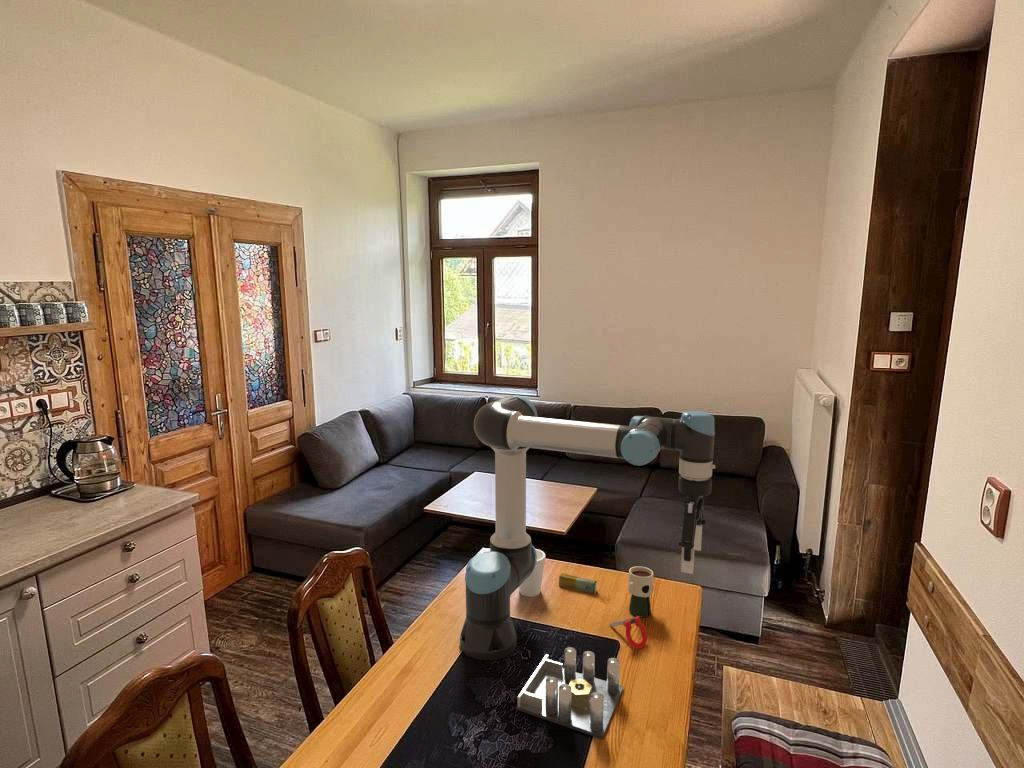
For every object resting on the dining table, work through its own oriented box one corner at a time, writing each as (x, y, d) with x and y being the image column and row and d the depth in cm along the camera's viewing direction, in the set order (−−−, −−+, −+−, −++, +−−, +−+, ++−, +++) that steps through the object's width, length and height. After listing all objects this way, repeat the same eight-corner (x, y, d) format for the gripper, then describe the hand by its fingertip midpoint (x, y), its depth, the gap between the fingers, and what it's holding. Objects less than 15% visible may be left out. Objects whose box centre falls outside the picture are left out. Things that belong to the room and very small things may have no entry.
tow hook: (633, 651, 146) (623, 622, 148) (609, 653, 154) (600, 626, 156) (651, 643, 149) (641, 614, 152) (627, 645, 157) (618, 618, 160)
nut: (564, 703, 127) (565, 691, 126) (573, 687, 132) (573, 676, 131) (586, 710, 124) (586, 698, 124) (593, 694, 130) (594, 682, 129)
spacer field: (516, 709, 126) (516, 677, 125) (545, 665, 141) (545, 637, 140) (602, 739, 117) (603, 705, 116) (623, 689, 132) (624, 659, 131)
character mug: (639, 625, 159) (640, 582, 157) (618, 615, 164) (619, 573, 162) (660, 611, 166) (662, 570, 164) (640, 601, 171) (641, 561, 169)
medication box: (596, 593, 177) (597, 580, 177) (594, 596, 174) (595, 583, 174) (560, 584, 182) (561, 572, 181) (557, 587, 179) (558, 575, 179)
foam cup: (511, 588, 179) (511, 550, 177) (538, 584, 182) (538, 546, 180) (520, 603, 170) (520, 563, 168) (549, 599, 173) (549, 559, 171)
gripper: (705, 494, 120) (700, 586, 124) (717, 464, 143) (713, 543, 146) (669, 489, 124) (666, 579, 127) (687, 461, 146) (683, 538, 149)
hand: (691, 560), depth 136 cm, fingers open, 13 cm apart
